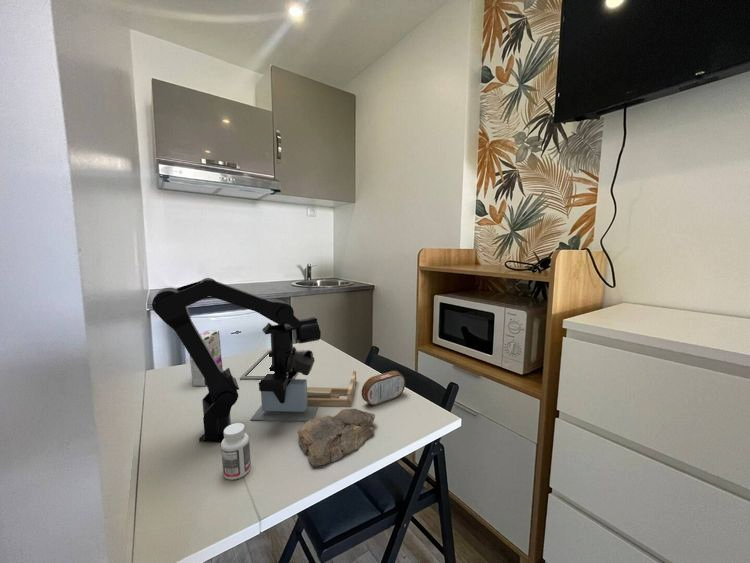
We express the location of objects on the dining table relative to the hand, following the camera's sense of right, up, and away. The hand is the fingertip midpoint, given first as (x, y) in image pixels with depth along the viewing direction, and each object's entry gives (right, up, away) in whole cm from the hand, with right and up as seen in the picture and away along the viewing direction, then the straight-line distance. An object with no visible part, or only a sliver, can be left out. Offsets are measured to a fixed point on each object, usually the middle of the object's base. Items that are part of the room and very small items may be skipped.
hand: (284, 399), depth 85 cm
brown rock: (+17, -6, -10) cm, 20 cm away
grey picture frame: (-12, -1, +36) cm, 38 cm away
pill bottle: (-4, -7, -21) cm, 22 cm away
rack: (+7, -3, +13) cm, 15 cm away
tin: (+28, -4, +8) cm, 30 cm away
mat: (0, -4, +1) cm, 4 cm away
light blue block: (0, -3, 0) cm, 3 cm away
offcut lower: (+8, -4, +8) cm, 12 cm away
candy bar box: (-34, -2, +23) cm, 41 cm away
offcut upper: (+7, -2, +8) cm, 11 cm away
